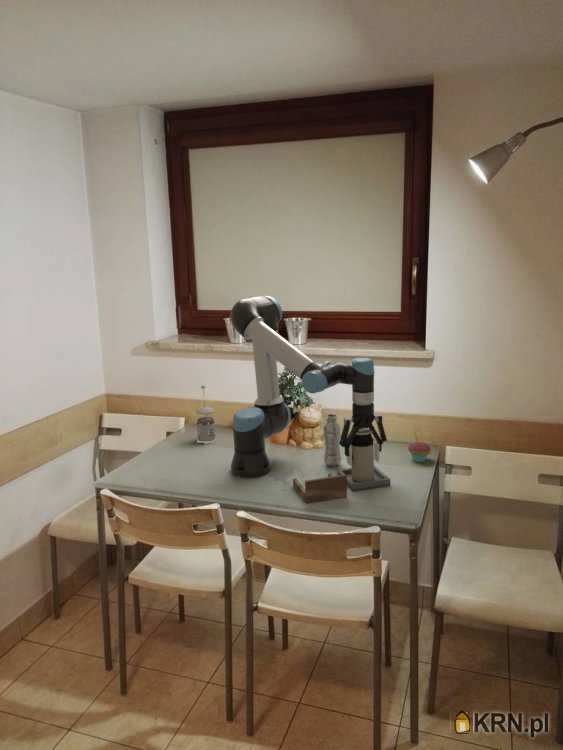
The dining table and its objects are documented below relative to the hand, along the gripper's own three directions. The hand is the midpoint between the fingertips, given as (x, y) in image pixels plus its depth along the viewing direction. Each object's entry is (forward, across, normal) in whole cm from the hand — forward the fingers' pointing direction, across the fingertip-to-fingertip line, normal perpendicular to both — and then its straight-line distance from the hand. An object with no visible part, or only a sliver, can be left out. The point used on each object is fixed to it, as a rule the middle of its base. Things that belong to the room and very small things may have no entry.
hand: (363, 462), depth 220 cm
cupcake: (+7, +28, +11) cm, 31 cm away
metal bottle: (+7, -5, +18) cm, 20 cm away
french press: (+7, -46, +65) cm, 80 cm away
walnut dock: (+7, -18, -4) cm, 20 cm away
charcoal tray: (+7, 0, 0) cm, 7 cm away
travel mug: (+6, 0, 0) cm, 6 cm away
